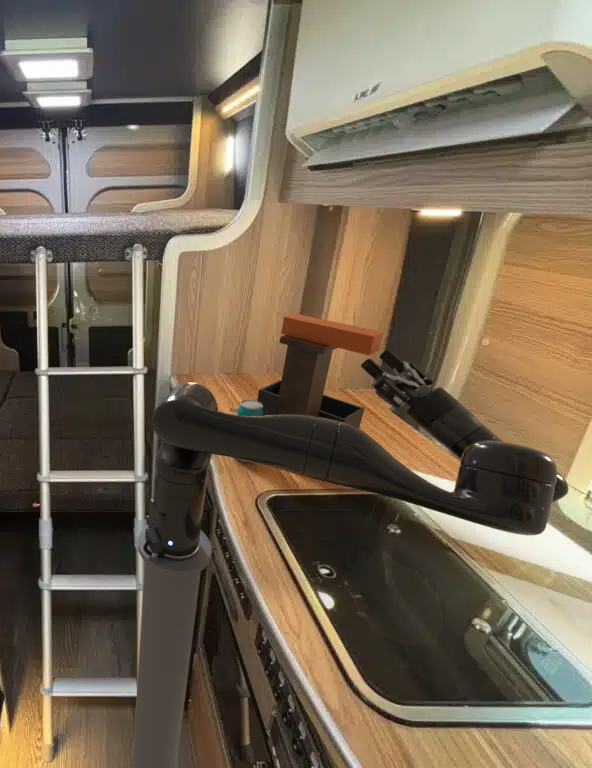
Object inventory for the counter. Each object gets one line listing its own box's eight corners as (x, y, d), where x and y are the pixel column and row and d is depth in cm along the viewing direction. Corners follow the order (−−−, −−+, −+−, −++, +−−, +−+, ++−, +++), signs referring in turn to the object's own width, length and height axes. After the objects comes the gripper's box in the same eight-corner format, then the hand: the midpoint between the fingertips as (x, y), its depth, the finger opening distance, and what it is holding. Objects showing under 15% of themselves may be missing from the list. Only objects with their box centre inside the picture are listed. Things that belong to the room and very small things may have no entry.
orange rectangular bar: (378, 350, 96) (383, 332, 94) (369, 355, 93) (374, 336, 92) (291, 329, 110) (294, 313, 108) (280, 333, 107) (283, 316, 106)
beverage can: (232, 462, 116) (239, 408, 110) (231, 450, 121) (238, 398, 115) (256, 465, 115) (265, 410, 109) (254, 452, 120) (262, 400, 114)
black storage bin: (353, 451, 120) (364, 408, 115) (333, 465, 114) (345, 420, 109) (272, 419, 137) (279, 380, 132) (252, 430, 131) (258, 389, 126)
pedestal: (316, 462, 116) (344, 339, 103) (297, 475, 111) (324, 347, 98) (279, 446, 123) (301, 329, 110) (259, 457, 118) (280, 336, 105)
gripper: (473, 395, 89) (402, 337, 96) (447, 417, 81) (372, 351, 88) (439, 418, 95) (375, 361, 101) (412, 440, 87) (344, 377, 94)
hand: (374, 357), depth 95 cm, fingers open, 8 cm apart
